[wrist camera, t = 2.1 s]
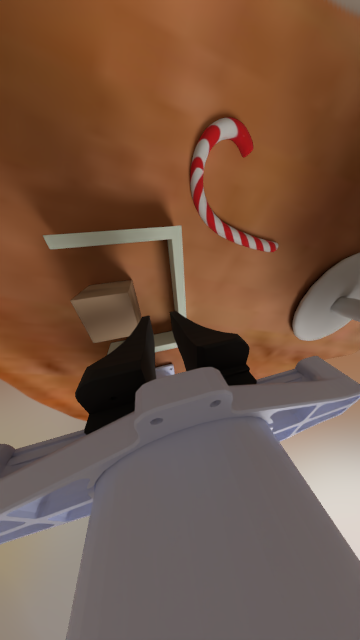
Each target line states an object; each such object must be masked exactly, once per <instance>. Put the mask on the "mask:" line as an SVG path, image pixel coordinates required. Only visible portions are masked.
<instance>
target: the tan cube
mask: <svg viewBox="0 0 360 640" xmlns="http://www.w3.org/2000/svg"><path fill="white" fill-rule="evenodd" d="M71 303H72V305H73V307H74V308H75V310H76V312H77V314H78V316H79V318H80V319H81V321H82V323H83V325H84V327H85V328H86V330H87V332H88V334H89V336H90V338H91V339H92V341H93V343H97V342H102V341H108V340H113V339H118V338H123V337H128V336H130V335H131V333H132V332H133V331H134V329H135V328H136V326H137V325H138V323H139V322H140V320H141V312H140V308H139V304H138V301H137V297H136V293H135V289H134V285H133V281H132V280H127V281H119V282H111V283H104V284H96V285H89V286H88V287H87V288H85V289H84V290H83V291H82V292H80V293H79V294H78V295H77V296H75V297H74V298H73V299H72V300H71Z"/></svg>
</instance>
